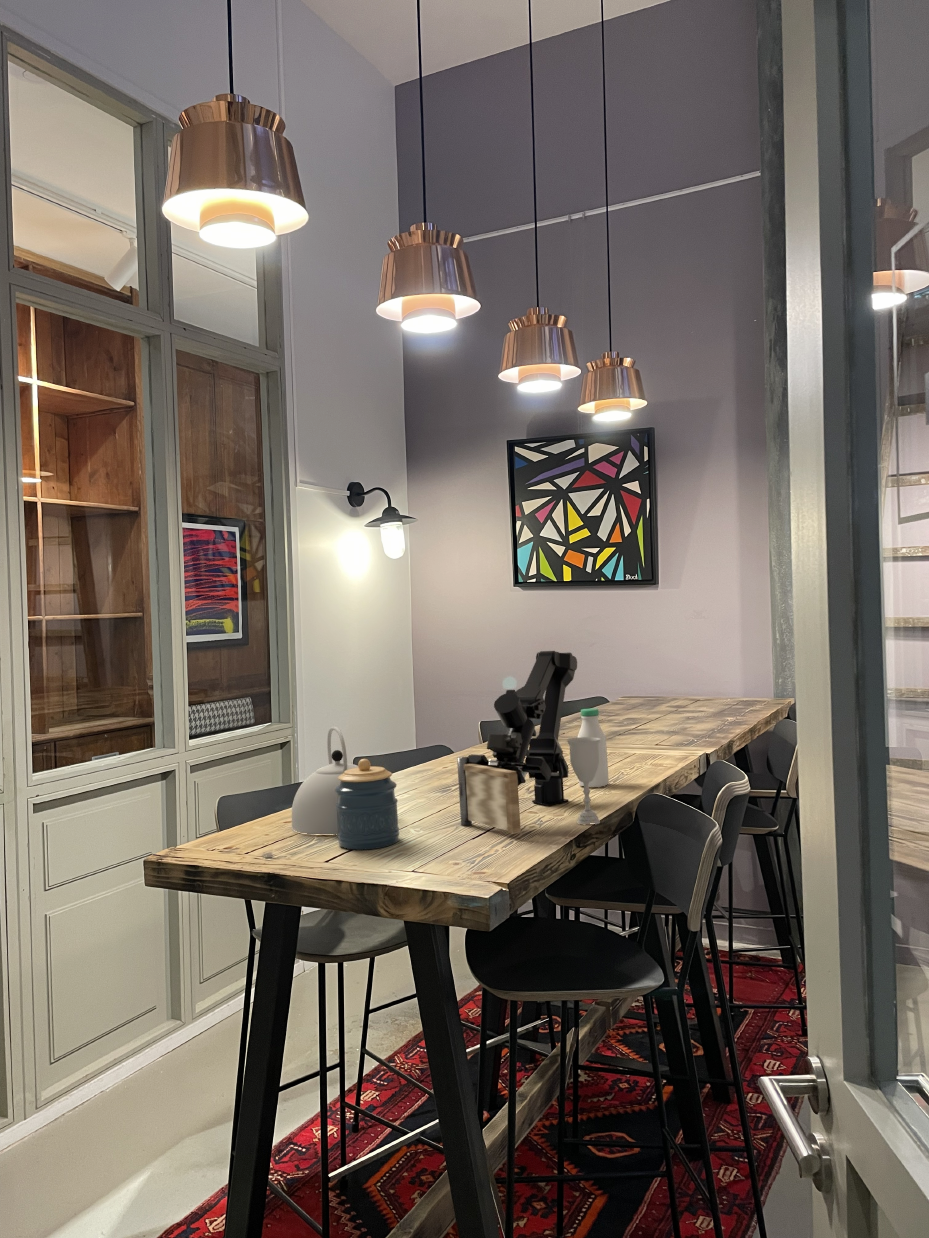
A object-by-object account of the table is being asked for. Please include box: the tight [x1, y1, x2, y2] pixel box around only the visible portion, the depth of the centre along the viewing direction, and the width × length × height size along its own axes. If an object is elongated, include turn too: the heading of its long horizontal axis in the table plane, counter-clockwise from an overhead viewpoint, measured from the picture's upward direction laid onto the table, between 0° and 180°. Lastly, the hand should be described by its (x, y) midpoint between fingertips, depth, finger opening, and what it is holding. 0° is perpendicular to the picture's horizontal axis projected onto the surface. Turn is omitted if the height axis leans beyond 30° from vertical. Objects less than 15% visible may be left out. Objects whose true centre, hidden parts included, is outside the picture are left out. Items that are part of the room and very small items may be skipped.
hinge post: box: [456, 756, 473, 827], centre depth 202 cm, size 2×2×15 cm
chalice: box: [566, 737, 601, 825], centre depth 198 cm, size 7×7×18 cm
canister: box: [335, 758, 400, 851], centre depth 192 cm, size 13×13×18 cm
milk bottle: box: [577, 708, 610, 788], centre depth 238 cm, size 8×8×20 cm
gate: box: [464, 764, 522, 835], centre depth 194 cm, size 17×2×12 cm, turn 34°
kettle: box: [291, 726, 358, 834], centre depth 213 cm, size 25×23×22 cm
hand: (496, 800), depth 195 cm, fingers closed
